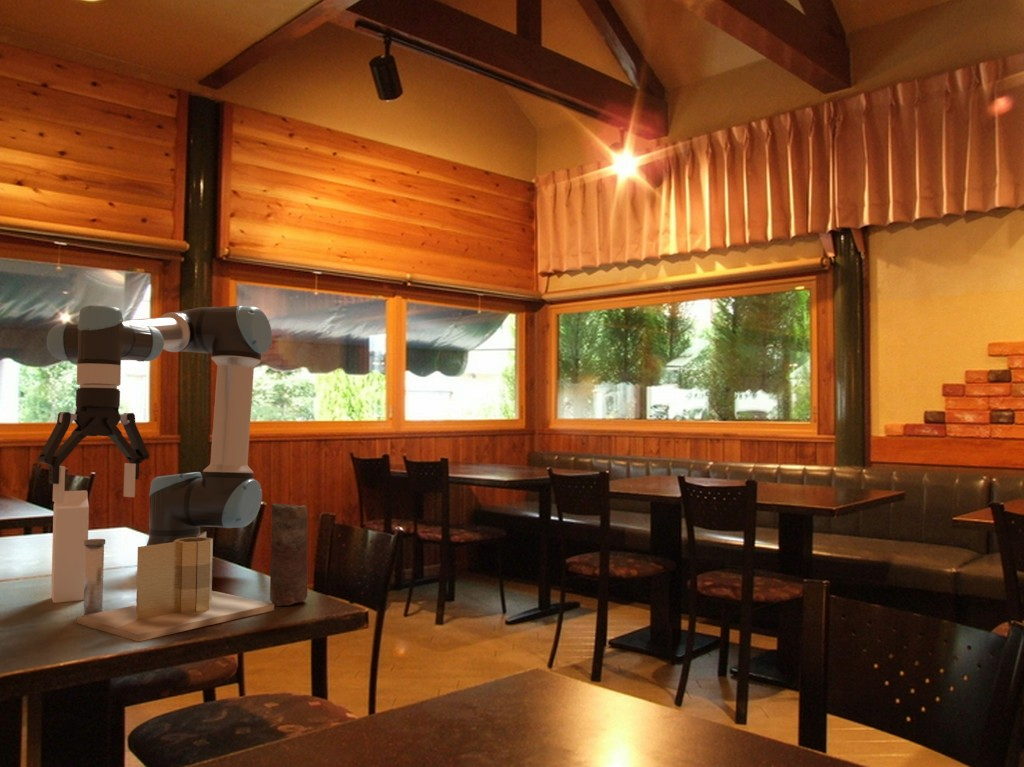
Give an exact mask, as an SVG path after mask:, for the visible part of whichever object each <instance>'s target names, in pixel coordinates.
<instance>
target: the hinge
mask: <svg viewBox="0 0 1024 767" xmlns="http://www.w3.org/2000/svg"><path fill="white" fill-rule="evenodd" d="M213 540H214V538H213V537H207V531H202V532H200V534H199V535H198V536H196V537H188V538H181V539H176V540H174V542H171V543H163V544H156V545H148V546H146V545H142V546H137V560H136V561H137V562H136V566H137V568H136V620H143V619H148V618H153V617H157V616H162V615H167V614H172V613H197V612H202V611H207V610H209V609H210V608H211V602H212V591H213V589H212V588H213V587H212V586H213V548H214V547H213V546H214V541H213Z"/></svg>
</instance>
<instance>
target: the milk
mask: <svg viewBox="0 0 1024 767" xmlns="http://www.w3.org/2000/svg"><path fill="white" fill-rule="evenodd" d="M88 496H89V494H88V490H81V489H80V490H64V502H54V503H53V514H52V515H53V516H52V523H53V524H52V547H51V548H52V549H51V550H52V551H51V553H52V555H51V585H50V586H51V587H50V588H51V589H50V590H51V591H50V598H51V600H52V603H53V604H59V603H69V602H79V601H84V572H85V545H84V540H89V518H90V516H89V515H90V513H89V512H90V506H89V505H90V504H89V500H88V499H89V498H88Z"/></svg>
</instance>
